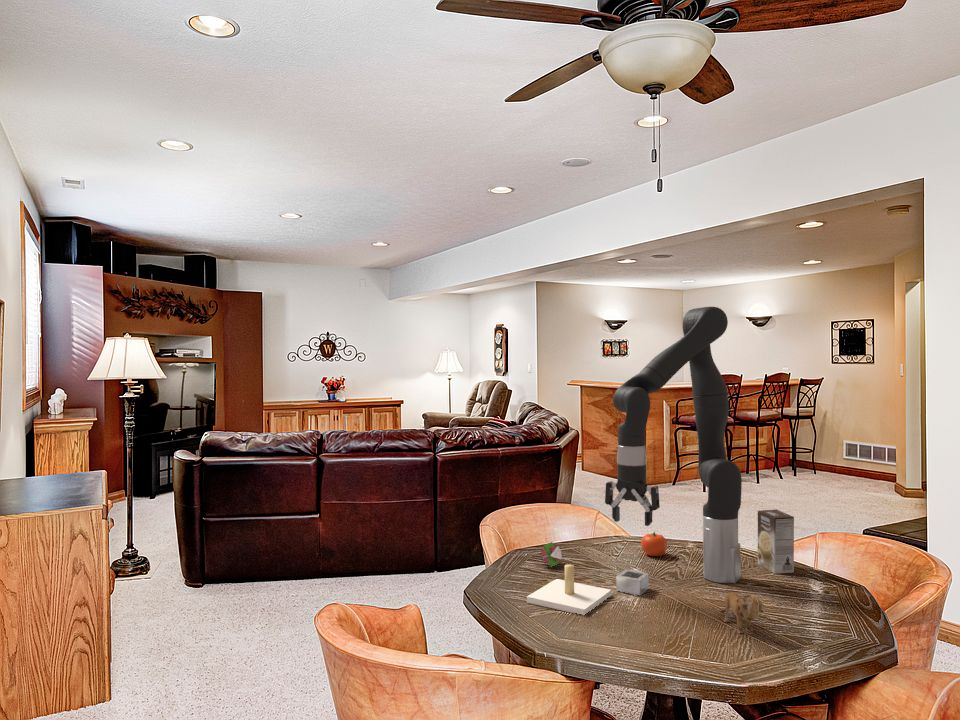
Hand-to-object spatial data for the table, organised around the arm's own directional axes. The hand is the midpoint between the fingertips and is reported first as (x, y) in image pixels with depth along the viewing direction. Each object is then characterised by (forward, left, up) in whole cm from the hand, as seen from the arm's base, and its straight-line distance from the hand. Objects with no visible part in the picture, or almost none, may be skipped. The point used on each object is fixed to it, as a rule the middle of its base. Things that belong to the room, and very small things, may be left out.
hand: (631, 523), depth 180 cm
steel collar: (0, 0, -18) cm, 18 cm away
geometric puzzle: (+28, -7, -18) cm, 34 cm away
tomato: (+6, -33, -18) cm, 38 cm away
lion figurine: (-30, +10, -18) cm, 36 cm away
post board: (+11, +15, -18) cm, 26 cm away
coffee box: (-28, -39, -18) cm, 51 cm away
